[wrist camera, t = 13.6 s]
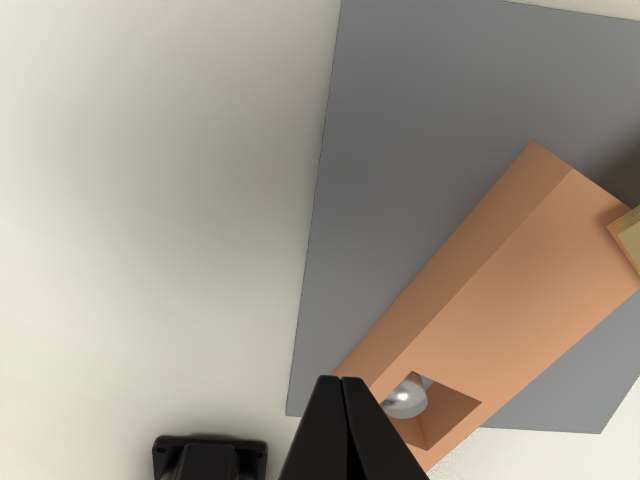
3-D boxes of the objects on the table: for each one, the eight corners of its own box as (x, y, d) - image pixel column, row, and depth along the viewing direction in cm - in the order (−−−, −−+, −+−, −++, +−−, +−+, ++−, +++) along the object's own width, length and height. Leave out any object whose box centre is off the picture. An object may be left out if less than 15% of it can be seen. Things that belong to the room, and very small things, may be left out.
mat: (596, 428, 27) (600, 434, 27) (285, 409, 25) (285, 415, 25) (843, 52, 17) (854, 54, 16) (344, -23, 15) (345, -23, 14)
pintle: (408, 371, 23) (421, 420, 21) (370, 368, 23) (379, 417, 21) (417, 342, 22) (432, 389, 20) (378, 339, 22) (388, 386, 20)
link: (406, 428, 26) (418, 478, 23) (316, 392, 24) (318, 442, 21) (634, 210, 19) (686, 247, 17) (532, 139, 17) (573, 168, 15)
